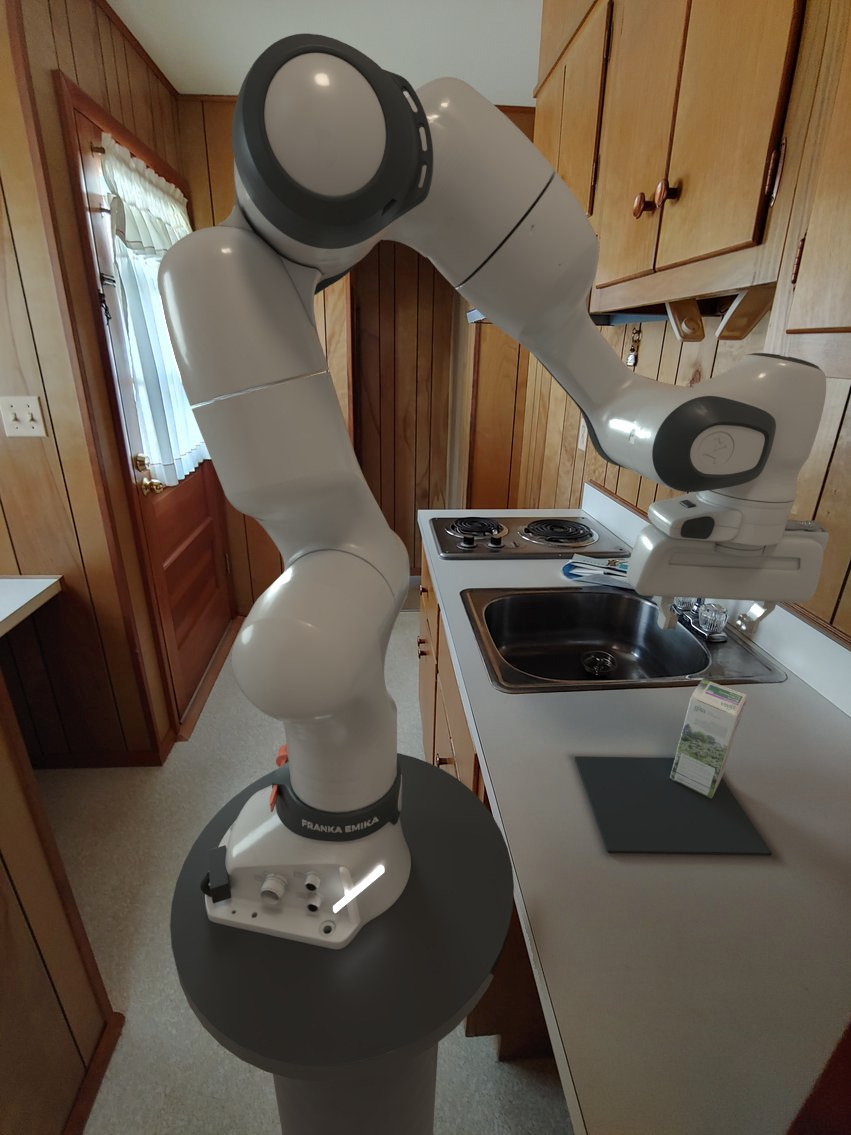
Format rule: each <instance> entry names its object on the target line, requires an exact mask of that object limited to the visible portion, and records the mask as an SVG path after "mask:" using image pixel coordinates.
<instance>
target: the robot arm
mask: <svg viewBox="0 0 851 1135" xmlns="http://www.w3.org/2000/svg"><path fill="white" fill-rule="evenodd" d="M404 92H406V93H407V94H408V96H407V97H406V95H405V93H404ZM235 101H236V102H235V105H234V109H233V114H232V123H231V144H232V145H231V146H232V153H233V184H234V186H233V187H234V188H233V189H234V205H233V206H232V209H231V212H230V213H229V215H228V216H227V217H226V218H225V219H224V220H222V221H221V222H219V223H218V225H216V226H207V227H204V228H200V229H197V230H194V231H192V232H190V233H188V234H186V235H184V236H183V237H181V238H179V239H178V240H177V241H175V243H173V244H172V245H171V246H170V247H169V248H168V249H167V250H166V252H165V253H164V255H163V256H162V258H161V260H160V263H159V265H158V270H157V278H156V280H157V289H158V294H159V300H160V305H161V311H162V317H163V321H164V323H165V329H166V333H167V338H168V341H169V345H170V348H171V352H172V357H173V360H174V363H175V366H176V369H177V373H178V376H179V378H180V382H181V385H182V387H183V391H184V393H185V397H186V398H187V401H188V404H189V406H190V408H191V407H193V408H191V412H192V414H193V417H194V419H195V421H196V425H197V427H198V429H199V432H200V434H201V437H202V440H203V442H204V445H205V447H206V450H207V453H208V455H209V457H210V459H211V462H212V465H213V468H214V470H215V472H216V475H217V477H218V481H219V483H220V485H221V488H222V490H223V494H224V496H225V498H226V499H227V501H228V502H229V503H230V504H231V506H232V507H233V508H234V509H236V511H238V512H240V513H242V514H244V515H245V516H249V517H251V518H252V519H254V520H255V521H256V522H258V524H259V525H260V526H261V527H262V528H263V530H265V532H266V533H267V535H268V536H269V537H270V538H271V541H272V542H273V543H274V545H275V547H276V548H277V549H278V552H279V553H280V555H281V557H282V560H283V567H284V571H283V573H282V574H280V576H279V577H278V578H277V579H276V580H274V581H273V583H272V584H270V586H268V588H266V589H265V591H264V592H262V594H261V595H260V596H259V597H258V598H257V599H256V601H255V602H254V603H253V605H252V607H251V609H250V611H249V613H248V615H247V616H246V618H245V620H244V622H243V624H242V626H241V628H240V631H239V632H238V634H237V636H236V639H235V641H234V643H233V645H232V650H231V659H230V660H231V670H232V673H233V677H234V680H235V682H236V683H237V686H238V688H239V689H240V691H241V692H242V694H243V696H245V698H246V699H247V700H248V701H249V702H250V704H251V705H253V706H254V708H256V709H258V710H259V711H260V712H262V713H263V714H264V715H267V716H268V717H270V718H272V719H275V720H276V721H279V722H282V724H283V728H284V733H285V734H284V735H285V741H286V743H284V744H282V745H281V746H280V747H279V749H278V751H277V752H278V753H277V757H276V758H275V764H276V766H277V767H278V768H279V769H278V768H276V769H277V770H276V769H275V770H276V772H275V774H274V776H273V780H272V785H271V786H269V787H267V788H264V789H262V790H260V791H258V792H256V793H255V794H254V795H253V796H252V797H251V798H250V799H249V800H248V801H247V803H246V804H245V805H244V807H243V809H242V810H241V812H240V814H239V816H238V818H237V820H236V821H235V822H234V823H233V824H232V826H231V827H230V828H229V830H228V831H227V832H226V834H225V836H224V837H223V839H222V841H221V843H220V845H219V847H217V848H214V849H210V850H208V855H209V872H208V873H207V874H206V875H205V877H204V878H203V879H202V881H201V884H200V888H201V890H202V892H203V893H204V894H205V905H206V912H207V915H208V918H209V920H210V921H212V922H214V923H218V924H222V925H227V926H231V927H236V928H240V929H245V930H249V931H254V932H258V933H263V934H267V935H272V936H276V937H281V938H285V939H290V940H294V941H299V942H303V943H308V944H312V945H317V946H321V947H326V948H330V949H336V950H337V949H342V948H344V947H345V946H347V945H348V944H349V943H350V942H351V941H352V940H353V938H354V937H355V936H356V935H357V933H358V932H359V931H360V929H361V928H362V927H363V926H364V925H365V924H366V923H368V922H369V921H371V920H372V919H374V918H376V917H377V916H379V915H381V914H382V913H383V912H385V911H386V910H387V909H388V908H390V907H391V906H392V905H393V904H394V903H395V902H396V900H397V899H398V898H399V897H400V895H401V894H402V892H403V890H404V888H405V886H406V884H407V882H408V879H409V875H410V870H411V856H410V851H409V848H408V845H407V843H406V841H405V838H404V835H403V832H402V827H401V823H400V811H401V808H402V775H401V768H400V763H399V760H398V758H397V753H398V707H397V704H396V701H395V700H394V698H393V697H392V695H391V693H389V691H388V689H387V685H386V679H385V665H386V658H387V657H386V656H387V651H388V648H389V644H390V639H391V636H392V632H393V631H394V627H395V624H396V622H397V620H398V618H399V615H400V613H401V611H402V608H403V607H404V604H405V602H406V600H407V598H408V594H409V591H410V590H409V589H410V577H411V571H410V569H411V568H410V567H411V566H410V556H409V553H408V549H407V548H406V545H405V544H404V542H403V541H402V540H403V539H401V537H400V536H399V535H398V534H397V533H396V532H395V531H394V530H392V529H391V528H390V526H389V523H388V522H387V520H386V517H385V516H384V514H383V511H382V510H381V507H380V506H379V504H378V502H377V500H376V499H375V496H374V494H373V493H372V491H371V489H370V487H369V485H368V482H367V480H366V478H365V476H364V474H363V470H362V469H361V466H360V464H359V462H358V459H357V456H356V453H355V450H354V446H353V444H352V440H351V436H350V433H349V430H348V426H347V424H346V420H345V417H344V413H343V410H342V407H341V403H340V401H339V397H338V393H337V391H336V388H335V385H334V381H333V378H332V374H331V371H328V370H330V368H329V363H328V360H327V358H326V354H325V351H324V348H323V345H322V344H321V340H320V336H319V332H318V329H317V322H316V315H315V296H316V295H317V294H319V293H320V292H322V291H323V290H325V289H327V288H329V287H330V286H332V285H333V284H335V283H337V282H338V281H340V280H341V279H343V278H344V277H345V276H347V275H348V274H349V273H350V272H351V271H352V270H353V269H354V268H355V267H356V266H357V265H358V263H359V262H360V261H361V260H363V259H364V258H365V257H367V255H368V254H369V253H370V252H371V251H372V249H373V248H374V247H375V246H376V244H378V243H379V242H380V241H394V242H398V243H401V244H403V245H405V246H408V247H410V248H412V249H413V250H415V251H416V252H418V253H419V254H420V255H421V256H423V257H424V258H427V259H428V260H430V263H432V265H433V266H434V267H435V268H436V269H437V271H438V272H439V273H440V275H442V276H443V277H444V278H445V279H446V281H447V282H448V283H449V284H450V285H451V286H452V287H453V288H454V289H455V291H456V292H458V294H460V295H461V296H462V298H463V299H464V300H466V301H467V302H468V303H469V304H470V306H472V307H473V308H474V309H475V310H476V311H477V312H479V313H480V314H481V315H482V316H483V317H484V318H485V319H487V320H488V321H489V322H490V323H491V324H492V325H494V326H495V327H496V328H497V329H499V330H501V331H502V332H503V333H505V334H506V335H508V336H509V337H510V338H511V339H513V340H514V341H515V342H516V343H518V344H519V345H521V346H522V347H523V348H524V349H526V350H527V351H528V352H529V353H531V354H532V355H533V356H534V357H535V359H536V360H537V361H538V362H539V363H540V364H541V366H542V367H544V369H545V371H547V373H548V374H549V375H550V376H551V377H552V378H553V379H554V380H555V382H556V383H557V384H558V385H559V386H560V387H561V388H562V390H563V391H564V392H565V393H566V394H567V396H568V397H569V398H570V399H571V400H572V401H573V402H574V404H575V405H576V407H577V408H578V410H579V411H580V413H581V416H582V418H583V420H584V424H585V426H586V429H587V430H586V431H587V433H588V435H589V439H590V442H591V444H592V446H593V448H594V450H595V451H596V453H597V454H598V455H599V456H600V458H602V459H603V460H604V461H606V462H607V463H609V464H611V465H613V466H616V467H620V468H622V469H626V470H629V471H631V472H633V473H635V474H637V475H639V476H641V477H643V478H645V479H647V480H649V481H652V482H654V483H656V484H658V485H660V486H662V487H664V488H666V489H669V490H673V491H677V492H683V493H685V494H681V495H678V496H673V497H670V498H664V499H661V500H657V501H654V502H652V503H651V504H649V506H648V510H647V518H648V519H649V521H650V522H651V523H650V524H647V525H645V526H644V527H643V528H642V529H641V530H640V532H639V533H638V535H637V537H636V540H635V542H634V545H633V548H632V551H631V553H630V557H629V560H628V564H627V568H626V579H627V582H628V583H629V584H630V586H631V587H632V589H633V590H634V591H635V592H636V593H637V594H638V595H639V596H644V597H653V598H654V602H655V603H656V606H657V607H658V611H659V613H658V617H657V622H656V623H657V625H658V627H659V628H660V629H661V630H666V631H667V630H670V631H672V630H673V631H675V630H676V628H677V624H678V621H679V616H677V614H675V612H674V611H673V610H670V607H669V605H673V604H674V602H675V598H686V599H687V598H689V599H710V600H727V601H728V600H730V601H732V600H733V601H748V602H749V601H753V602H755V603H754V604H753V605H752V606H751V608H749V609H748V611H747V612H746V613H739V614H738V616H737V621H736V623H735V627H736V630H738V631H739V632H740V633H742V634H757V631H758V628H759V625H760V622H762V621H763V620H764V619H766V618H767V617H768V616H769V615H770V614H771V613H772V612H774V611H775V608H776V606H777V603H791V604H792V603H794V604H804V603H806V602H808V601H809V600H810V599H811V598H812V597H814V595H815V593H816V592H817V588H818V584H819V582H820V581H819V580H820V576H821V572H822V568H823V561H824V552H825V551H826V547H827V545H828V543H829V540H830V534H829V531H828V529H827V528H826V527H825V526H824V525H822V524H821V522H820V521H817V520H813V519H810V520H809V519H808V520H798V519H792V518H791V519H790V515H791V512H792V509H793V506H794V503H795V500H796V497H797V483H798V482H797V481H798V478H799V473H800V472H801V470H802V468H803V467H804V465H805V463H806V462H807V460H808V459H809V458H810V455H811V452H812V449H813V446H814V443H815V441H816V437H817V434H818V431H819V427H820V424H821V420H822V416H823V412H824V407H825V404H826V403H825V402H826V401H825V400H826V394H827V376H826V373H825V372H824V371H823V369H821V368H820V367H819V366H818V365H817V364H815V363H813V362H810V361H808V360H804V359H801V358H797V357H792V356H785V355H781V354H777V353H776V354H775V353H768V352H753V353H748V354H745V355H743V356H742V358H741V359H740V360H739V361H738V362H737V363H736V364H734V365H733V366H731V367H730V368H728V369H727V370H725V371H723V372H721V373H719V374H717V375H715V376H713V377H710V378H708V379H706V380H702V381H699V382H696V383H692V384H690V386H684V385H679V384H678V385H677V384H673V383H668V382H662V381H659V380H656V379H654V378H651V377H647V376H644V375H641V374H639V373H637V372H635V371H633V370H632V369H630V368H629V366H627V365H626V363H624V361H623V359H622V358H621V357H620V356H619V354H618V353H617V352H616V350H615V349H614V348H613V346H612V345H611V344H610V343H609V341H608V340H607V338H606V337H605V336H604V334H603V333H602V332H601V331H600V329H599V328H598V326H597V325H596V324H595V323H594V321H593V320H592V318H591V316H590V314H589V311H588V309H587V302H586V301H587V300H586V299H587V297H588V295H589V294H590V291H591V289H592V287H593V284H594V283H595V282H594V281H595V278H596V274H597V271H598V267H599V266H598V264H599V257H600V246H599V245H600V244H599V239H598V236H597V235H596V232H595V230H594V227H593V225H592V224H591V222H590V219H589V218H588V217H589V216H588V215H587V213H586V211H585V210H584V208H583V206H582V204H581V202H580V201H579V199H578V198H577V197H576V195H575V194H574V193H573V191H572V189H571V188H570V187H569V186H568V184H567V183H566V182H565V180H564V179H563V178H562V177H561V175H560V174H559V173H558V171H557V170H555V168H554V166H553V165H552V164H551V163H550V161H549V160H548V159H547V158H546V157H545V156H544V154H543V153H542V152H541V151H540V150H539V148H538V147H537V145H535V144H534V143H533V142H532V141H531V139H530V138H528V136H527V135H526V134H525V133H524V132H523V131H522V130H521V129H520V128H519V127H518V126H517V125H516V124H515V123H514V122H513V121H512V120H511V119H510V118H509V117H508V116H507V115H506V114H505V113H504V112H502V111H501V110H500V109H499V108H498V107H497V106H496V105H495V104H494V103H492V102H491V101H490V100H489V99H488V98H487V97H486V96H484V95H483V94H482V93H480V92H479V91H478V90H477V89H475V87H473V86H472V85H470V84H469V83H467V82H466V81H464V80H462V79H460V78H457V77H452V76H444V77H443V76H442V77H438V78H435V79H433V80H431V81H428V82H426V83H424V84H423V85H421V86H419V87H418V88H416V90H415V89H414V87H413V86H412V84H411V83H410V81H408V79H407V78H405V77H403V76H402V75H400V74H399V73H398V74H397V73H395V72H392V71H389V70H387V69H384V68H382V67H381V66H380V64H378V63H377V62H376V61H375V60H373V59H372V58H370V57H369V56H368V55H366V54H365V53H363V52H362V51H360V50H358V49H357V48H355V47H354V46H352V45H349V44H347V43H346V42H343V41H341V40H339V39H336V38H333V37H330V36H326V35H323V34H322V35H321V34H316V33H315V34H314V33H295V34H292V35H288V36H285V37H283V38H281V39H279V40H277V41H274V42H273V43H272V44H271V45H269V46H268V47H267V48H266V49H264V51H262V53H260V55H259V56H258V57H257V58H256V59H255V60H254V62H253V64H252V65H251V67H250V68H249V70H248V71H247V73H246V75H245V77H244V80H243V81H242V84H241V87H240V89H239V92H238V95H237V98H236V100H235ZM327 930H330V931H331V932H330V933H329V934H325V933H324V932H325V931H327Z"/></svg>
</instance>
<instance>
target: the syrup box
mask: <svg viewBox="0 0 851 1135" xmlns="http://www.w3.org/2000/svg"><path fill="white" fill-rule="evenodd" d="M747 699H748V695H747V694H746V693H743V692H740V691H737V690H734V689H731V688H729V687H727V686H724V685H721V684H718V683H716V682H714V681H710V680H708V679H705V678H702V680H700V682H699V684H698V685H697V686H696V688H695V689H694V690H693V692H692V694H691V697H690V699H689V702H688V707H687V711H686V714H685V717H684V718H685V719H684V722H683V726H682V729H681V734H680V738H679V741H678V745H677V748H676V752H675V757H674V758H675V760H674V764H673V768H672V772H671V776H670V779H671V780H673V781H676V782H678V783H680V784H682V785H684V786H686V787H688V788H690V789H692V790H694V791H696V792H698V793H700V794H702V795H704V796H706V797H708V798H712V797H713V795H714V793H715V791H716V789H717V787H718V785H719V782H720V780H721V778H723V776H724V772H725V768H726V766H727V762H728V759H729V754H730V751H731V748H732V745H733V742H734V740H735V737H736V733H737V730H738V727H739V725H740V721H741V717H742V715H743V712H744V709H745V706H746V702H747Z"/></svg>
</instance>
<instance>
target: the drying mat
mask: <svg viewBox="0 0 851 1135" xmlns="http://www.w3.org/2000/svg"><path fill="white" fill-rule="evenodd" d="M674 760H675V757H641V756H640V757H636V756H635V757H634V756H579V755H577V756H574V761H575V763H576V766H577V769H578V772H579V774H580V778H581V780H582V783H583V786H584V789H585V792H586V794H587V795H586V796H587V798H588V800H589V803H590V806H591V809H592V811H593V815H594V817H595V820H596V823H597V825H598V828H599V831H600V835H601V837H602V840H603V843H604V846H605V848H606V852H607V853H608V854H610V853H611V854H615V853H616V854H666V855H667V854H668V855H669V854H671V855H672V854H673V855H730V856H731V855H737V856H740V855H741V856H742V855H743V856H744V855H745V856H771V855H772V854H773V852H772V850H771V849H770V848H769V846H768V845H767V842H765V840H764V839H763V837H762V836H761V834H760V833H759V831H758V830H757V828H756V826H755V825H754V824H753V822H752V820H751V819H750V818H749V816H748V815H747V813H746V811H745V810H744V808H743V807H742V805H741V804H740V803H739V801H738V800H737V798H736V797H735V795H734V794H733V791H732V790H731V789H730V788H729V785H728V784H727V783H726V781H725V780H724V778H723V777H722V778H721V780H720V782H719V785H718V787H717V789H716V791H715V793H714V795H713V797H712V798H708V797H706V796H704V795H702V794H700V793H698V792H696V791H694V790H692V789H690V788H688V787H686V786H684V785H682V784H680V783H678V782H676V781H673V780H671V779H670V776H671V772H672V768H673V764H674Z"/></svg>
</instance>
